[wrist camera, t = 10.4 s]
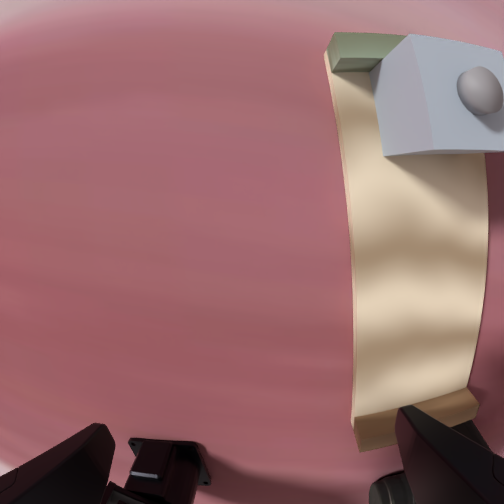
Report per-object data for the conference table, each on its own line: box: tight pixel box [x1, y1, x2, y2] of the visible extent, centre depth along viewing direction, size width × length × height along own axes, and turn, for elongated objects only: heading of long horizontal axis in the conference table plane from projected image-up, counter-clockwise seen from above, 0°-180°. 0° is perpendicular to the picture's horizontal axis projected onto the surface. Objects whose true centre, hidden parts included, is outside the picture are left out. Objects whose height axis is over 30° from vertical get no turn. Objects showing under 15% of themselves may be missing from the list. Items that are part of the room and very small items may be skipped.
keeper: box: [369, 34, 504, 156], centre depth 12 cm, size 5×6×7 cm
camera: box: [369, 420, 494, 504], centre depth 18 cm, size 14×11×10 cm
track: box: [324, 32, 488, 452], centre depth 17 cm, size 26×10×4 cm, turn 8°
